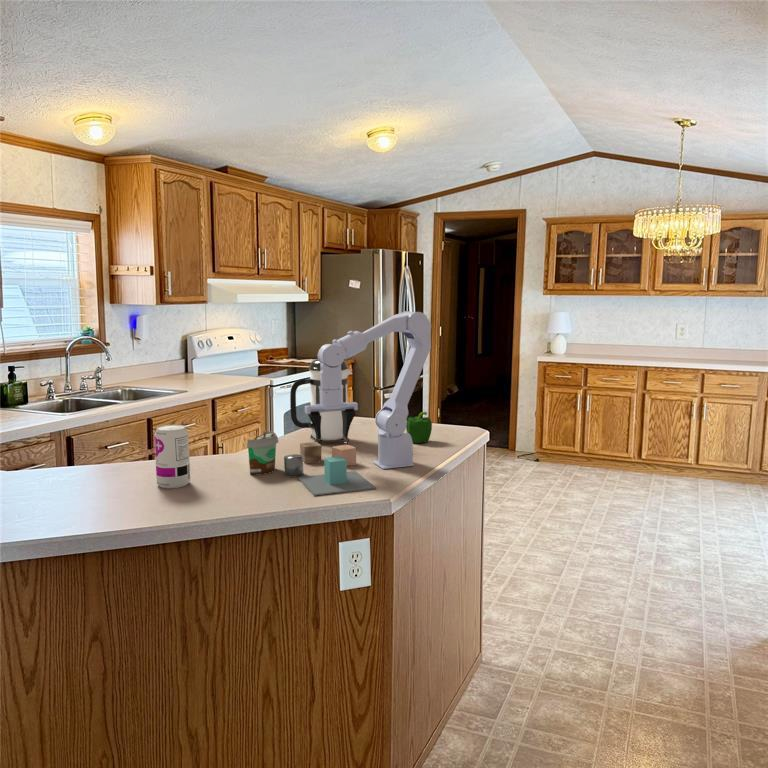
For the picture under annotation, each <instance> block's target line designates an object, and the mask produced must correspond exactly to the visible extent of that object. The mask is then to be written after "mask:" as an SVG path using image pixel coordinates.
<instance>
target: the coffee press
mask: <svg viewBox="0 0 768 768" xmlns="http://www.w3.org/2000/svg"><path fill="white" fill-rule="evenodd" d="M320 363H321V362H320V361H319V360H318V358H316V359H313V360H312V361H311V362H310V364H309V366H308V370H309V378H300V379H297V380H296V381H295V382H294V383H292V386H291V388H290V395H289V398H290V400H289V401H290V403H289V404H290V418H291V421H292V423H293V424H294V426H296V427H297V428H303V429H310V431H311V435H310V439H311V438H315V439H314V442H317V443H319V444H320V445H321V443H322V442H323V441H337V440H340V441H341V442H347V444H349V443H350V439H349V437H344V436H343V420H342V412H341V411H332V412H319V414H320V416H321V439H320V440H318V439H317V438H316V433H315V430H314V427H313V424H312V422H311V421H308V422H301V421H299V420H298V418H297V397H296V395H297V391H298V388H299V387H300V386H301V385H309V388H310V393H309V394H310V405H316V404H321V383H320V372H321V364H320ZM348 375H353V372H352V371H351V369H349V365H347V362H346V360H344V361H343V363H342V364H341V377H342V402H348V384H349V377H348ZM326 410H330V409H326ZM348 442H349V443H348Z"/></svg>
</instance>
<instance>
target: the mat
mask: <svg viewBox="0 0 768 768" xmlns="http://www.w3.org/2000/svg"><path fill="white" fill-rule="evenodd" d="M297 479H298V480H299V482H300V481H301V482H302V483H303V484H304V485H305V486H306V487H305V486H304V485H303V484H302V483H301V482H300V483H301V484H302V485H303V486H304V487H305V488H306V489H307V490H308V492H309V493H310V492H311V493H312V494H313V495H314V496H313V495H312V494H311V495H312V496H313V497H318V496H317V495H322V496H326V495H325V494H330V495H333V494H332V493H338V494H343V493H342V492H347V493H353V492H352V491H355V492H360V491H359V490H364V491H369V490H368V489H372V490H376V489H377V487H376V486H375V485H374V484H372V483H371V482H370V481H368V480H367V478H365V477H364V476H362V474H360V473H358V472H357V471H356V470H353V471H347V483H342V484H334V485H329V484H328V483H327V482H326V481H325V473H324V474H315V475H305V476H304V475H303V476H299V477H297Z"/></svg>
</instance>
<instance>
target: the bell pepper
mask: <svg viewBox="0 0 768 768" xmlns="http://www.w3.org/2000/svg"><path fill="white" fill-rule="evenodd" d="M427 414H428V412H427V411H421V412H420V413H419V414H418V416H414V417H412V416H411V417H407V426H406V429H405V430H406V433H409V434H410V435H411V438H412V443H413V444H422V443H428V441H429V440H430V437H431V435H432V429H433V422H432V421H431V418H430V417H427ZM423 415H425V416H426V417H425V416H424V417H422V416H423Z"/></svg>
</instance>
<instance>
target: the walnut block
mask: <svg viewBox="0 0 768 768" xmlns="http://www.w3.org/2000/svg"><path fill="white" fill-rule="evenodd" d="M299 453H300V454H299V455H302V456H303V462H304V463H308V462H318V463H320V462H319V461H321V462H322V445H321V444H319V443H317V442H315V441H310V442H301V443H300V444H299ZM304 463H303V464H304ZM308 464H309V463H308Z"/></svg>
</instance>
